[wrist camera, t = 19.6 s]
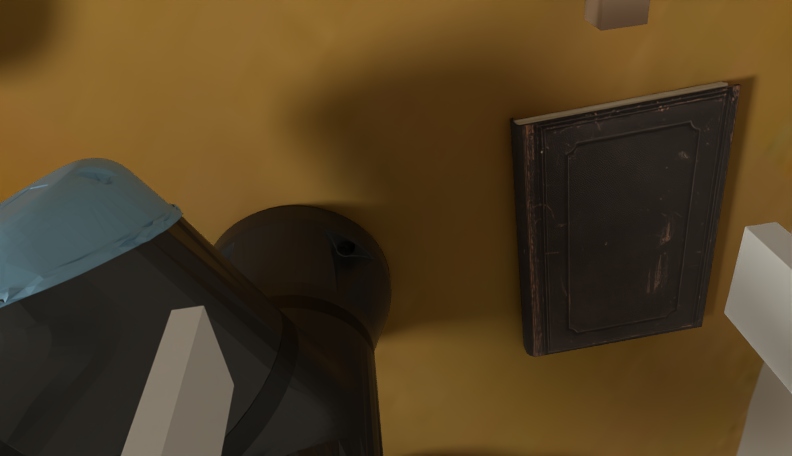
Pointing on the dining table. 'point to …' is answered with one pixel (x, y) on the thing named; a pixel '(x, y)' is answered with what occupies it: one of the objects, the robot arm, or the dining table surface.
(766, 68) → the dining table surface
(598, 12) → the walnut stick
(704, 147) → the hardcover book
